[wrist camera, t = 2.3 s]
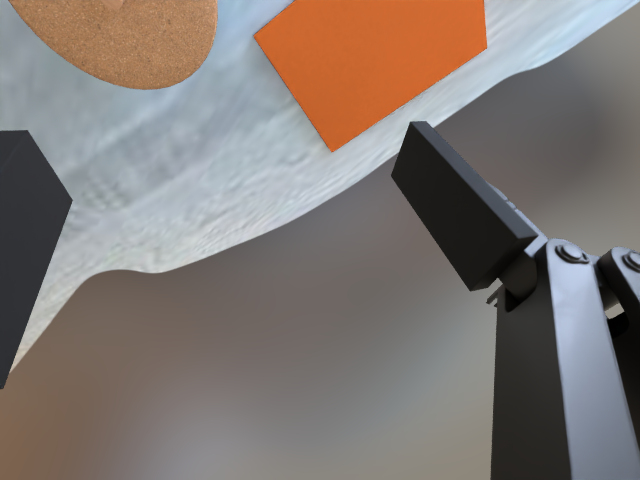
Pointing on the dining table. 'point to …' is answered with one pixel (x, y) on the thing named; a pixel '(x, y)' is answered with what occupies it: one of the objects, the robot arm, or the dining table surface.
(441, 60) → the mat
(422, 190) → the robot arm
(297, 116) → the dining table surface
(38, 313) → the dining table surface
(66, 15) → the trinket box
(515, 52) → the dining table surface
